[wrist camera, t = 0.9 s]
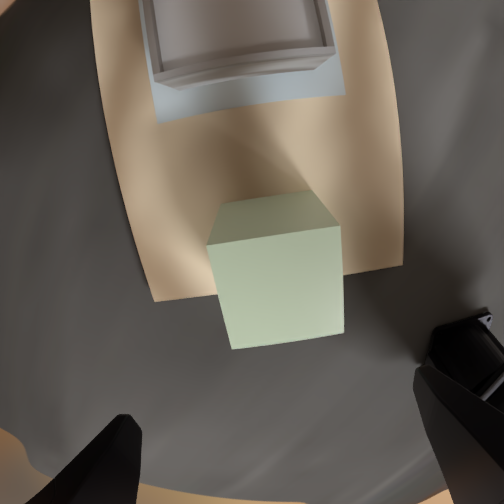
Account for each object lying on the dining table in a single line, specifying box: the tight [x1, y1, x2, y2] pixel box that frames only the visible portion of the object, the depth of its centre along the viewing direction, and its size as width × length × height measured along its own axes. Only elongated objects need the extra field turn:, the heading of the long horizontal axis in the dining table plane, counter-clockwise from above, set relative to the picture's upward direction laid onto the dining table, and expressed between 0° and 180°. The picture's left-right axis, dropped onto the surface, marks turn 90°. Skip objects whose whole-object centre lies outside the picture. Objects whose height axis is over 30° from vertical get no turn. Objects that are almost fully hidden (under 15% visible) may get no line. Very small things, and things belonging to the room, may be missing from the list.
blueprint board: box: [90, 0, 404, 302], centre depth 14 cm, size 16×20×6 cm
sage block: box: [206, 190, 344, 349], centre depth 15 cm, size 5×5×6 cm
